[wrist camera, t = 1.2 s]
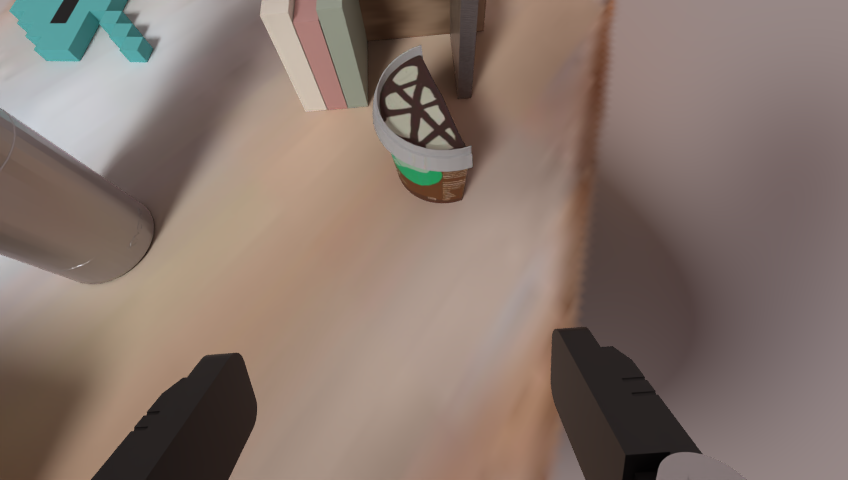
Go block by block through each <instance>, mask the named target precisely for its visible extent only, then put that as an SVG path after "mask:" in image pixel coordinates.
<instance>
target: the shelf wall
mask: <svg viewBox="0 0 848 480" xmlns="http://www.w3.org/2000/svg"><path fill="white" fill-rule="evenodd" d="M359 5H360V9H361V14H362V18H363V23H364V28H365V32H366V37H367V41H373V40H384V39H395V38H406V37H417V36H428V35H439V34H450V0H359ZM485 7H486V0H479V3H478V16H477V29H476V31H483V29H484V18H485Z"/></svg>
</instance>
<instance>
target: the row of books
mask: <svg viewBox="0 0 848 480" xmlns="http://www.w3.org/2000/svg"><path fill="white" fill-rule="evenodd" d="M260 17H261V19H262V21H263V23H264V25H265V27H266V29H267V32H268V34H269V36H270V38H271V40H272V42H273V44H274V46H275V48H276V50H277V53H278V55H279V57H280V59H281V61H282V63H283V65H284V67H285V69H286V71H287V74H288V76H289V78H290V80H291V82H292V84H293V86H294V88H295V90H296V92H297V94H298V97H299V99H300V101H301V103H302V105H303V107H304V109H305V111H306V112H309V111H320V110H327V109H328V110H332V109H343V108H347V107H348V108H355V107H367V106H368V50H367V37H366V32H365V28H364V23H363V18H362V14H361V9H360V5H359V0H262V2H261V9H260Z"/></svg>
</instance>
